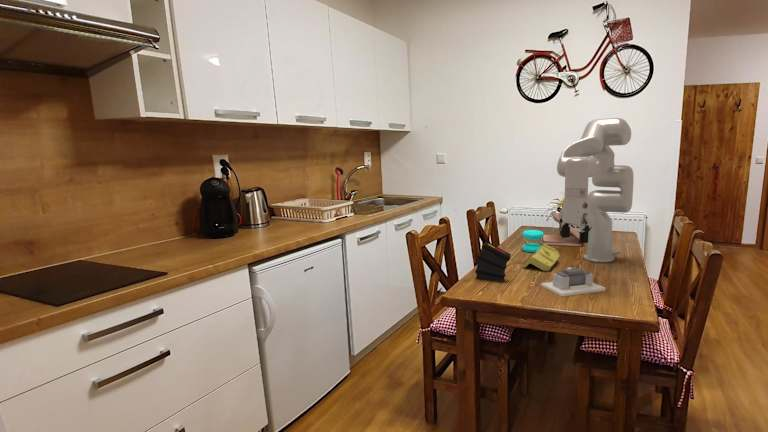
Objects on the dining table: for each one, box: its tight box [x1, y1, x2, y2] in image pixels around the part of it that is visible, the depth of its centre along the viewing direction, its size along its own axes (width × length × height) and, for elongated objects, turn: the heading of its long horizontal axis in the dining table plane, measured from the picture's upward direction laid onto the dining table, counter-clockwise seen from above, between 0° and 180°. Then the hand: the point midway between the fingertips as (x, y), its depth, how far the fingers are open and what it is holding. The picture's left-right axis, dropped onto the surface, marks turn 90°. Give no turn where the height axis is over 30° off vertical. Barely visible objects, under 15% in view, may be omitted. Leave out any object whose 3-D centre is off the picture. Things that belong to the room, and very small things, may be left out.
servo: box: [555, 266, 590, 288], centre depth 152 cm, size 11×4×7 cm, turn 103°
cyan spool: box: [522, 229, 545, 254], centre depth 206 cm, size 10×10×10 cm
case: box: [540, 210, 583, 247], centre depth 223 cm, size 20×21×16 cm
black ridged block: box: [474, 241, 512, 282], centre depth 165 cm, size 4×13×15 cm, turn 64°
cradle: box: [540, 273, 606, 297], centre depth 152 cm, size 18×12×5 cm, turn 103°
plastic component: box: [522, 244, 560, 272], centre depth 183 cm, size 20×7×10 cm
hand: (574, 240), depth 149 cm, fingers open, 9 cm apart
